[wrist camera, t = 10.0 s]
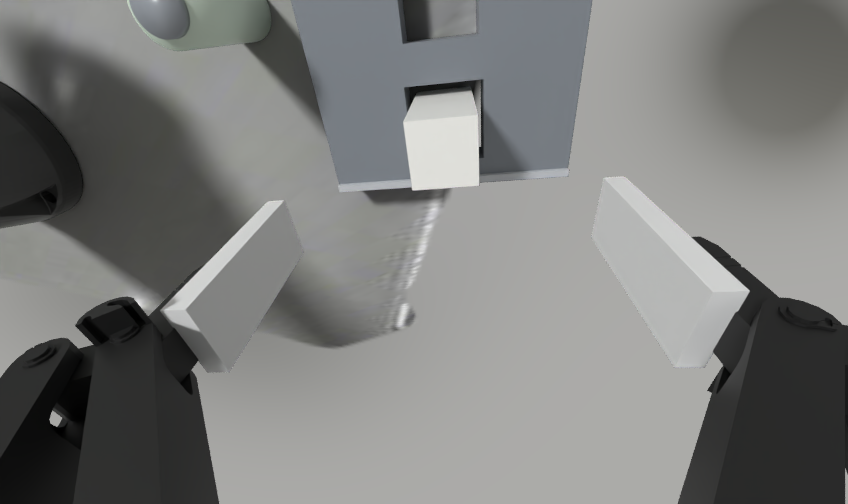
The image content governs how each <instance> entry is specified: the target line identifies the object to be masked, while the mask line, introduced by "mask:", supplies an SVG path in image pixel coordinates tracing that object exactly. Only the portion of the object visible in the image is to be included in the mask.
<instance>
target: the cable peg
mask: <svg viewBox="0 0 848 504" xmlns="http://www.w3.org/2000/svg"><path fill="white" fill-rule="evenodd" d="M127 3H128V6H129V9H130V11H131V13H132V15H133V17H134V19H135V21H136V22H137V24H138V25H139V26H140V28H141V29H142V30H143V31H144V33H145V34H146V35H147V36H148V37H149V38H151V39H152V40H153V41H154V42H156V43H157V44H159V45H160V46H162V47H164V48H166V49H169V50H173V51H187V50H195V49H203V48H211V47H219V46H227V45H235V44H243V43H251V42H258V41H261V40H262V39H264V38H265V37H266V36H267V34H268V33H269V31H270V28H271V12H270V8H269V5H268V3H267V0H127Z"/></svg>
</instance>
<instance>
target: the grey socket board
mask: <svg viewBox="0 0 848 504" xmlns="http://www.w3.org/2000/svg"><path fill="white" fill-rule="evenodd" d="M291 3H292V7H293V11H294V14H295V18H296V22H297V26H298V30H299V33H300V37H301V41H302V45H303V49H304V52H305V56H306V60H307V64H308V67H309V71H310V75H311V79H312V83H313V86H314V90H315V94H316V98H317V102H318V105H319V109H320V113H321V117H322V121H323V124H324V128H325V132H326V136H327V140H328V143H329V147H330V151H331V155H332V159H333V162H334V166H335V170H336V174H337V178H338V181H339V185H338V188H339V192H350V191H365V190H379V189H394V188H409V187H412V186H411V179H410V171H409V162H408V155H407V147H406V140H405V133H404V125H403V121H404V119H405V117H406V115H407V113H408V110H409V108H410V106H411V102H410V93H409V87H412V86H422V85H432V84H441V83H451V82H461V81H470V80H480V79H481V147H479V162H480V183H482V182H496V181H511V180H525V179H540V178H555V177H568V175H569V169H568V164H569V158H570V150H571V143H572V137H573V130H574V123H575V116H576V110H577V102H578V96H579V89H580V82H581V75H582V68H583V62H584V55H585V48H586V40H587V34H588V27H589V19H590V13H591V6H592V0H476V28H477V33H474V34H466V35H457V36H449V37H441V38H432V39H424V40H416V41H407V35H406V26H405V17H404V8H403V0H291Z"/></svg>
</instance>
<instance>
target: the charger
mask: <svg viewBox="0 0 848 504" xmlns="http://www.w3.org/2000/svg"><path fill="white" fill-rule="evenodd" d="M403 125H404V133H405V140H406V147H407V155H408V162H409V171H410V179H411V186H412V191H414V190H428V189H442V188H456V187H470V186H479V185H480V162H479V141H478V140H479V133H478V112H477V108H476V105H475V101H474V97H473V93H472V90H471V86H470V87H461V88H451V89H442V90H432V91H422V92H417V94H416V96H415V98H414V100H413V102H412V104H411V106H410V108H409V110H408V113H407V115H406V117H405V119H404V121H403Z"/></svg>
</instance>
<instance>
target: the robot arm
mask: <svg viewBox="0 0 848 504" xmlns="http://www.w3.org/2000/svg"><path fill="white" fill-rule="evenodd" d="M81 194H82V176H81V172H80V169H79V166H78V163H77V161H76V159H75V157H74V155H73V153H72V151H71V150H70V148H69V146H68V145H67V143H66V142H65V140H64V139H63V138H62V136H61V135H60V134H59V132H58V131H57V130H56V129H55V128H54V127H53V125H52V124H51V123H50V122H49V121H48V120H47V119H46V118H45V117H44V116H43V115H42V114H41V113H40V112H39V111H38V110H37V109H36V108H35V107H33V106H32V105H31V104H30V103H29V102H28V101H26V100H25V99H24V98H22V97H21V96H20V95H19V94H17V93H16V92H14V91H13V90H11V89H10V88H8V87H7V86H5V85H4V84H2V83H0V228H6V227H12V226H17V225H23V224H28V223H34V222H39V221H44V220H47V219H50V218H52V217H54V216H56V215H59V214H61V213H63V212H65V211H67V210H69V209H70V208H72V207H73V206H75V204H76V203H77V202H78V201H79V199H80V197H81ZM591 238H592V240H593V241H594V243H595V244H596V246H597V247H598V249H599V251H600V252H601V254H602V255H603V257H604V258H605V260H606V262H607V263H608V265H609V266H610V268H611V269H612V271H613V273H614V274H615V276H616V277H617V278H618V280H619V282H620V283H621V285H622V287H623V288H624V290H625V291H626V293H627V295H628V296H629V298H630V299H631V301H632V302H633V304H634V305H635V307H636V309H637V310H638V312H639V313H640V315H641V316H642V318H643V320H644V321H645V323H646V324H647V326H648V327H649V329H650V331H651V332H652V334H653V335H654V337H655V338H656V340H657V342H658V343H659V345H660V346H661V348H662V349H663V351H664V353H665V354H666V356H667V357H668V359H669V360H670V362H671V363H672V365H673V366H674V368H702V367H703V368H704V367H705V366H706V364H707V363H708V361H709V359H710V358H711V356H712V354H713V353H714V354H715V355H716V356H717V357H718V359H719V360H720V361H721V363H723V367H722V368H721V370H720V371H719V373H718V375H717V376H716V377H715V379H714V381H713V382H712V384H711V386H710V387H709V388H708V390H707V391H710V392H711V393H712V395H711V398H710V401H709V404H708V408H707V411H706V414H705V417H704V421H703V424H702V427H701V430H700V433H699V437H698V440H697V443H696V447H695V450H694V453H693V456H692V459H691V463H690V466H689V469H688V472H687V475H686V479H685V482H684V485H683V488H682V491H681V495H680V498H679V501H678V504H845V468H846V470H847V473H848V326H846V325H842V324H841V323H840V322H839V321H838V320H837V319H836V318H835V317H834V316H833V315H831V314H829V313H828V312H826V311H824V310H823V309H821V308H819V307H817V306H814V305H811V304H809V303H806V302H804V301H799V300H795V299H790V298H779V297H778V296H777V295H776V294H774V293H773V292H772V291H771V290H770V289H768V288H767V287H766V286H765V285H764V284H763V283H762V282H760V281H759V280H758V279H757V278H756V277H755V276H753V275H752V274H751V273H750V272H749V271H748V270H746V269H745V268H743V267H741V265H740V264H739V263H738V262H737V261H736V260H735V259H733V258H731V256H730V255H729V254H728V253H726V252H725V251H724V250H723V249H722V248H721V247H719V246H718V245H716V244H714V243H712V242H710V241H708V240H706V239H704V238H702V237H690V236H689V235H688V234H687V233H686V232H685V231H684V230H683V229H682V228H681V227H679V226H678V225H677V224H676V223H675V222H674V221H673V220H672V219H671V218H670V217H668V216H667V215H666V214H665V213H664V212H663V211H662V210H661V209H660V208H659V207H658V206H656V205H655V204H654V203H653V202H652V201H651V200H650V199H649V198H648V197H647V196H645V195H644V194H643V193H642V192H641V191H640V190H639V189H638V188H637V187H636V186H635V185H634V184H632V183H631V182H630V181H629V180H628V179H627V178H626V177H625V176H621V177H607V178H604V179H603V183H602V188H601V193H600V197H599V202H598V207H597V212H596V216H595V221H594V226H593V231H592V235H591ZM303 253H304V251H303V248H302V246H301V243H300V240H299V238H298V235H297V232H296V230H295V227H294V224H293V222H292V219H291V216H290V214H289V211H288V208H287V206H286V203H285V201H284V200H281V201H268V202H267V203H266V204H265V205H264V206H263V207H262V208H261V209H260V210H259V211H258V212H257V213H256V214H255V215H254V216H253V217H252V218H251V219H250V220H249V221H248V222H247V223H246V224H245V225H244V226H243V227H242V228H241V229H240V230H239V231H238V232H237V233H236V234H235V235H234V236H233V237H232V238H231V239H230V240H229V241H228V242H227V243H226V244H225V245H224V246H223V247H222V248H221V249H220V250H219V251H218V252H217V253H216V254H215V255H214V256H213V257H212V258H211V259H210V260H209V261H208V262H207V263H206V264H204V265H203V266H201V267H200V268H198V269H197V270H195V271H194V272H193V273H192V274H191V275H190V276H189V277H188V278H187V279H186V280H185V281H184V283H182V284H181V285H180V286H179V287H178V288H177V289H176V291H174V292H173V293H172V294H171V295H170V296H169V297H168V298H167V299H166V300H164V301H163V302H162V303H161V304H160V305H159V306H158V307H157V308H156V309H155V310H154V311H153V312H152V313H151V314H150V315H149V316H147V315H146V313H145V312H144V311H143V310H142V308H141V307H140V306H139V305H138V303H137V302H136V301H135V300H134V298H131V297H120V298H116V299H112V300H109V301H107V302H104V303H102V304H100V305H98V306H96V307H95V308H93V309H91V310H90V311H88V312H87V313H85V315H83V316H82V317H81V318H80V319H79V320H78V322H77V324H76V325H75V326H76V327H77V328H78V329H79V330H80V331H81V332H82V333H83V334H84V335H85V336H86V337H87V338H88V339H89V340H90V341H91V342H92V343H93V344H94V345H91V346H87V347H83V348H80V349H78V348H77V347H76V346H75V345H74V344H73V343H72V342H71V341H70V340H69V339H66V338H58V339H53V340H50V341H47V342H45V343H41V344H38V345H36V346H35V347H34V348H31V349H29V350H27V351H26V352H25V353H24V354H23V355H21V356H20V357H18V358H17V359H16V360H15V361H14V362H13V363H12V364H11V365H10V366H9V368H8V369H7V370H6V371H5V373H4V374H3V375H2V377H1V378H0V504H219V501H218V495H217V489H216V484H215V478H214V472H213V467H212V461H211V456H210V450H209V445H208V439H207V434H206V428H205V422H204V417H203V411H202V406H201V400H200V394H199V389H198V383H197V378H196V376H195V374H194V373H193V372H192V371H191V370H192V368H193V366H195V364H196V363H197V361H199V362H200V364H201V365H202V366H203V368H204V369H205V370H206V371H207V372H230V371H231V369H232V367H233V366H234V364H235V363H236V361H237V359H238V358H239V356H240V354H241V353H242V351H243V350H244V348H245V346H246V345H247V343H248V342H249V340H250V338H251V337H252V335H253V334H254V332H255V330H256V329H257V327H258V326H259V324H260V322H261V321H262V319H263V317H264V316H265V314H266V313H267V311H268V309H269V308H270V306H271V305H272V303H273V301H274V300H275V298H276V297H277V295H278V293H279V292H280V290H281V289H282V287H283V285H284V284H285V282H286V280H287V279H288V277H289V276H290V274H291V272H292V271H293V269H294V268H295V266H296V264H297V263H298V261H299V260H300V258H301V256H302V255H303ZM52 410H53V411H54V412H56V413H57V414H58V415H60V416H61V417H62V420H61V422H60V424H59V426H58V427H56V426H53V425H52V424H50V420H49V419H50V415H51V412H52Z"/></svg>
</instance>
